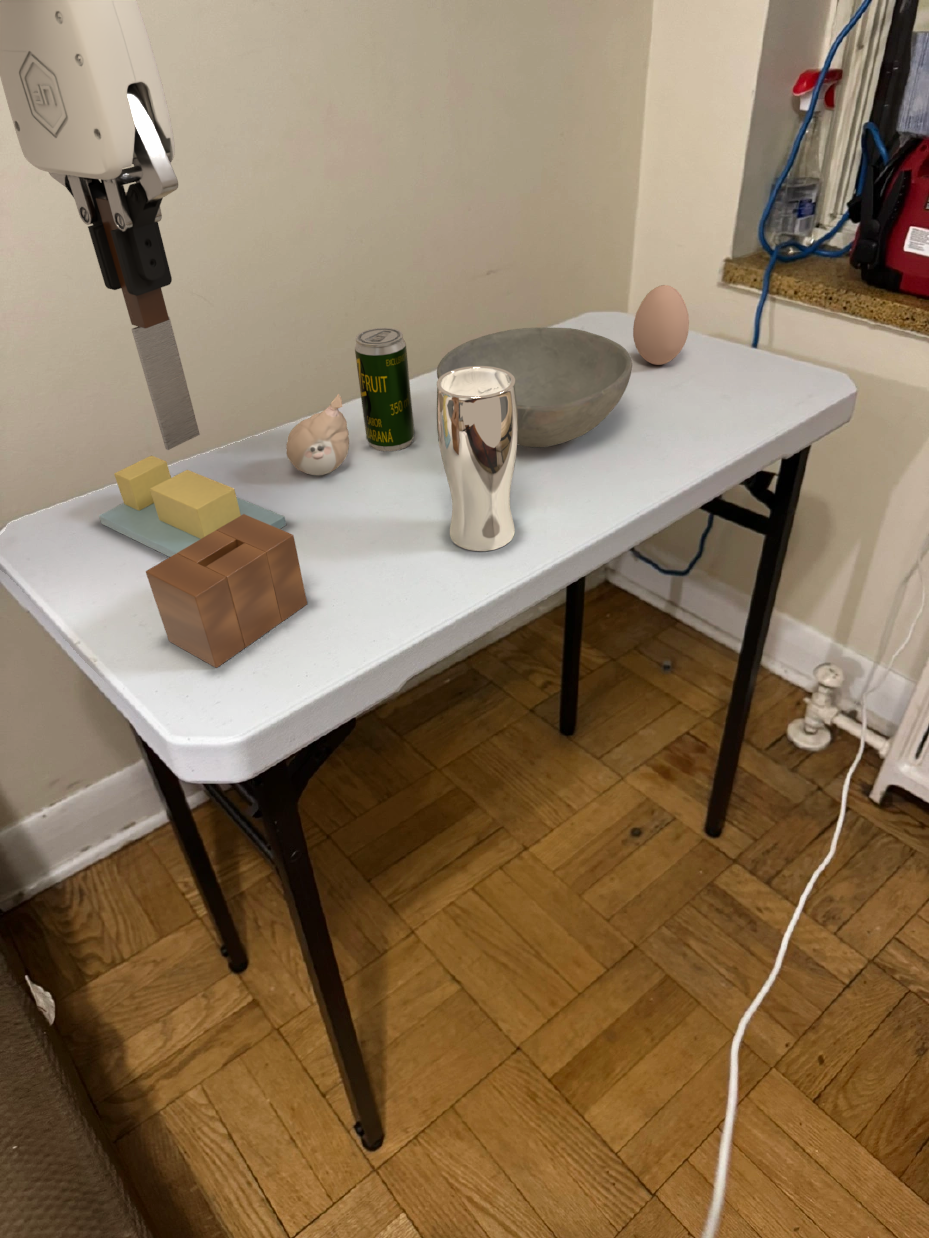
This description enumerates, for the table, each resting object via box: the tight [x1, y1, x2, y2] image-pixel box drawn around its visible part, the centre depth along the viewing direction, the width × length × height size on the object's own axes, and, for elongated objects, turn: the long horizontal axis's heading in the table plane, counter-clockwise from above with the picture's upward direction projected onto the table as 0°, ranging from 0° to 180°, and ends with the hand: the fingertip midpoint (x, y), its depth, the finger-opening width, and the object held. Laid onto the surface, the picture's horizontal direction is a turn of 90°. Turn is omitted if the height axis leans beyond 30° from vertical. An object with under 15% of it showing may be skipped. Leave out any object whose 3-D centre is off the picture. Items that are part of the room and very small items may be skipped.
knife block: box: [145, 514, 308, 669], centre depth 70 cm, size 10×6×7 cm, turn 143°
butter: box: [150, 469, 241, 539], centre depth 83 cm, size 4×7×4 cm, turn 53°
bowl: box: [436, 327, 633, 448], centre depth 95 cm, size 21×21×8 cm
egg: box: [632, 284, 690, 366], centre depth 108 cm, size 7×7×10 cm
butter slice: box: [113, 455, 172, 511], centre depth 86 cm, size 4×2×4 cm, turn 143°
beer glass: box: [436, 366, 519, 552], centre depth 76 cm, size 7×7×15 cm
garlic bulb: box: [285, 393, 350, 476], centre depth 90 cm, size 7×6×8 cm
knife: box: [96, 191, 201, 451], centre depth 60 cm, size 3×2×17 cm, turn 143°
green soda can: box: [354, 327, 415, 452], centre depth 93 cm, size 5×5×12 cm
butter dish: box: [98, 496, 287, 558], centre depth 85 cm, size 10×16×1 cm, turn 53°
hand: (139, 285), depth 58 cm, fingers closed on knife, 1 cm apart
